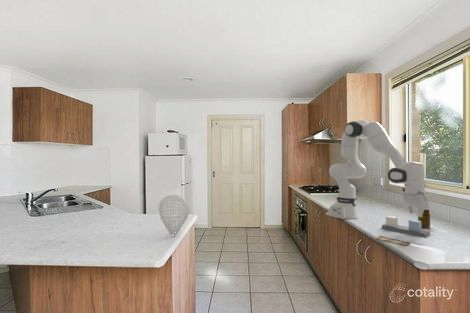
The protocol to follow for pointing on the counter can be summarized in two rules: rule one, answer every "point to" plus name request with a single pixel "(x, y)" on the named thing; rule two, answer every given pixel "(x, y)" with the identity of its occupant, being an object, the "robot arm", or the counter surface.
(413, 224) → the light blue block
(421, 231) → the power strip
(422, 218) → the condiment
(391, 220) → the plug
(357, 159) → the robot arm
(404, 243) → the oak pad
